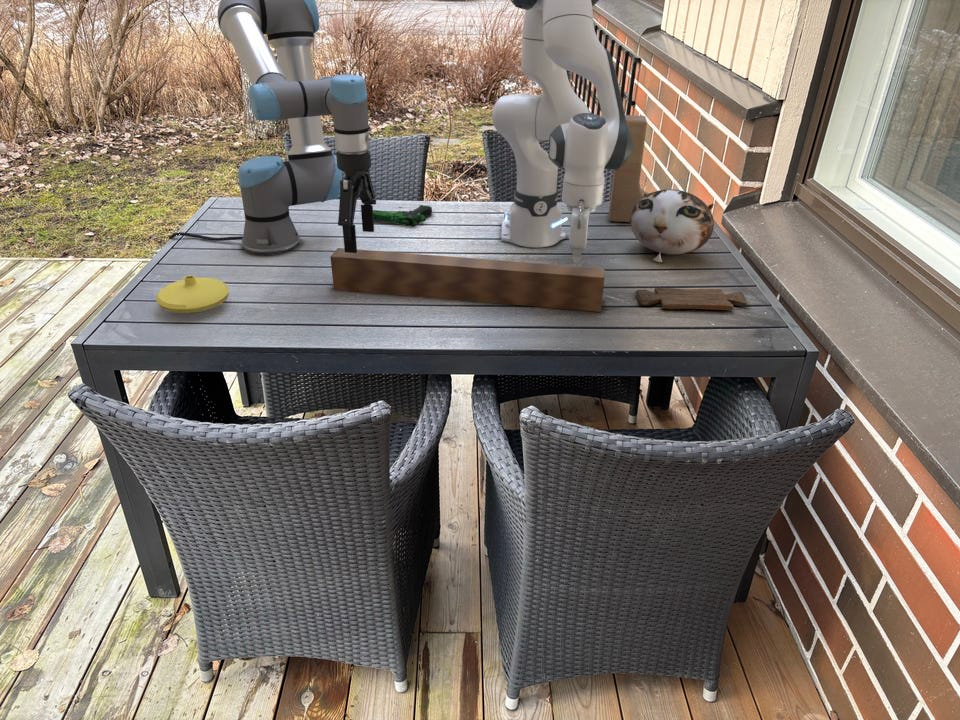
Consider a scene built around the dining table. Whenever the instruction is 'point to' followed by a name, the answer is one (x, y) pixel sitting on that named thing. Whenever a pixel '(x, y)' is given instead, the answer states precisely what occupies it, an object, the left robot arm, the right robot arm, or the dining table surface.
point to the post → (469, 279)
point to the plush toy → (672, 222)
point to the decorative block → (629, 174)
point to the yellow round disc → (192, 295)
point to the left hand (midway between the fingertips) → (360, 241)
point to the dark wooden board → (691, 298)
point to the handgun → (404, 216)
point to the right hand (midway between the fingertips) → (577, 254)
